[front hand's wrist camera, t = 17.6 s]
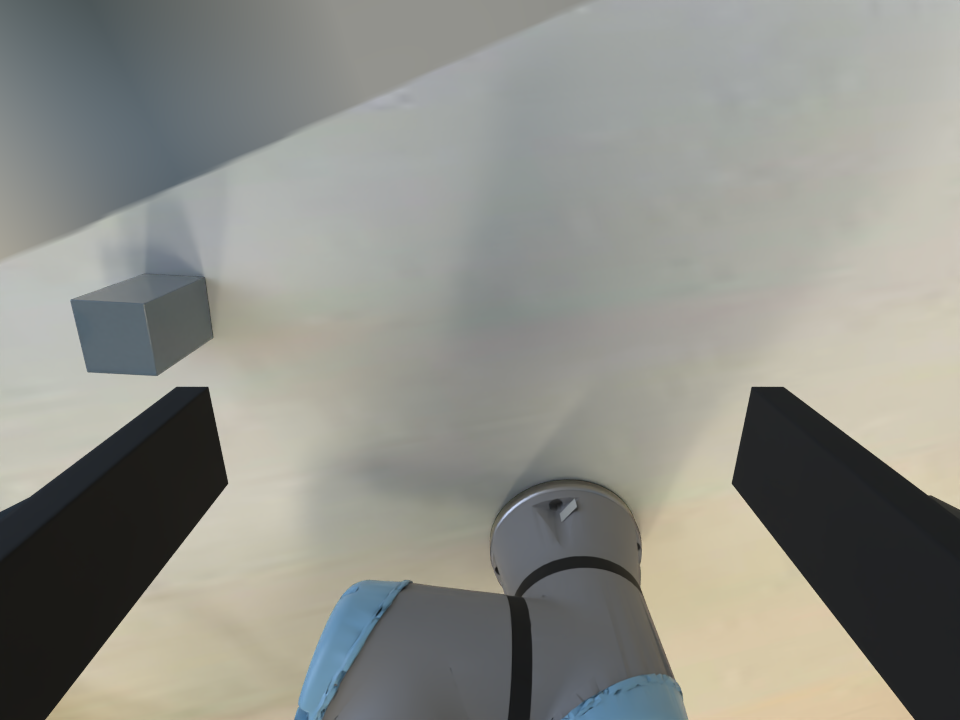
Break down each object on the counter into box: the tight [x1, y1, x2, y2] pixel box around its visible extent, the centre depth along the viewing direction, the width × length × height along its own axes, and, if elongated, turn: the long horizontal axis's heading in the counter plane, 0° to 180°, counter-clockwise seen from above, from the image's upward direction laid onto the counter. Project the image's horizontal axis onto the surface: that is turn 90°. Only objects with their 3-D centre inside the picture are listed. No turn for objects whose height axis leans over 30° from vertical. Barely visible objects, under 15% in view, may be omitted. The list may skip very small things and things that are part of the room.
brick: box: [70, 274, 213, 376], centre depth 41 cm, size 5×6×9 cm
